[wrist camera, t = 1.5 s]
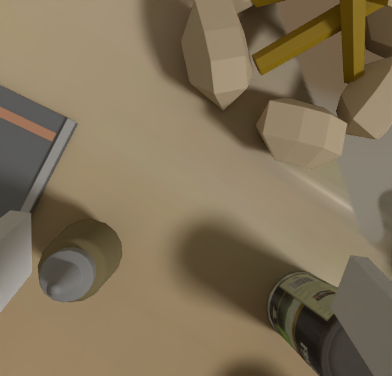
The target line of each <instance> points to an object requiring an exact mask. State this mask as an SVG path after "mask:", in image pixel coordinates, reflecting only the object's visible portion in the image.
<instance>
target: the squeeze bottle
mask: <svg viewBox="0 0 392 376" xmlns="http://www.w3.org/2000/svg"><path fill="white" fill-rule="evenodd" d="M121 257H122V246H121V241H120V239H119V237H118V235H117V233H116V232H115V231H114V230H113V229H112V228H111V227H109V226H108V225H107V224H106V223H102V222H99V221H96V220H82V221H78V222H76V223H74V224H72V225H70V226H68V227H67V228H66V229H65V230H64V231H63V232H62V233H61V234H60V235H59V236H58V237H57V238H56V239H55V240H54V241H53V242H52V243H51V244H50V245H49V247H48V248H47V249H46V250H45V251H44V252H43V253H42V256H41V259H40V262H39V264H38V273H39V282H40V286H41V288H42V289H43V291H44V293H45V294H46V295H48V296H49V297H50V298H51V299H53V300H56V301H60V302H75V301H83V300H85V299H87V298H88V297H90V296H92V295H94V294H95V293H96V292H97V291H98V290H99V289H100V288H101V286H102V285H103V284H104V283H105V282H106V281H107V280H108V278H109V277H110V276H111V275H112V274H113V273H114V272H115V270H116V269H117V268H118V266H119V263H120V260H121Z"/></svg>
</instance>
